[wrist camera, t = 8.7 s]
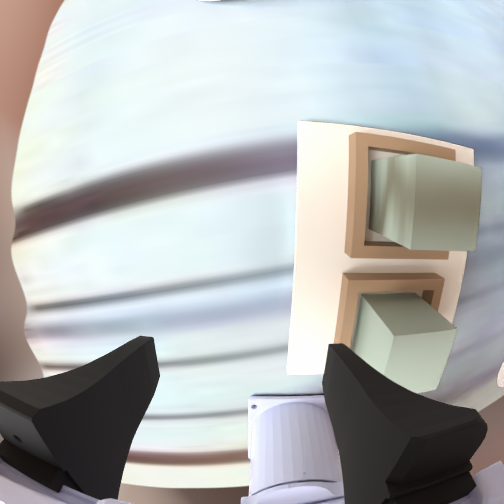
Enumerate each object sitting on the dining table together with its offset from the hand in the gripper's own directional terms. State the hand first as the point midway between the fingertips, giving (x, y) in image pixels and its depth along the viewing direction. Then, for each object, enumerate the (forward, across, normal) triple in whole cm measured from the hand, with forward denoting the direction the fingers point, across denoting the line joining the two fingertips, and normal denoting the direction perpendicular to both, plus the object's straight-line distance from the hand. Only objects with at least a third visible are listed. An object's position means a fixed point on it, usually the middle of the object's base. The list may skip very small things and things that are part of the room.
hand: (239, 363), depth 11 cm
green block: (+8, -10, -7) cm, 15 cm away
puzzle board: (+9, -10, -2) cm, 14 cm away
